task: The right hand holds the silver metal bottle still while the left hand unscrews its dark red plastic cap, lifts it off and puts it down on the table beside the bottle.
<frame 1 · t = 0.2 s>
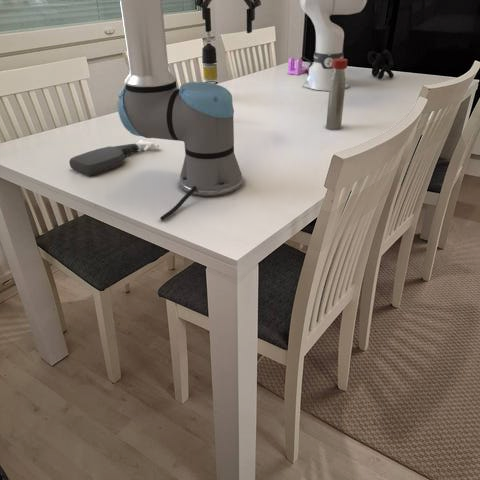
left hand: (228, 32, 139), 28 cm above the table, tool pointing down, fingers open, 13 cm apart
cup: (146, 114, 162), on the table
cap: (339, 60, 135), point 21 cm above the table, screwed on, not yet turned
bracket: (299, 72, 219), on the table
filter: (211, 98, 179), on the table
spray bottle: (117, 159, 125), on the table
bottle: (333, 127, 146), on the table
squiggle: (381, 77, 206), on the table
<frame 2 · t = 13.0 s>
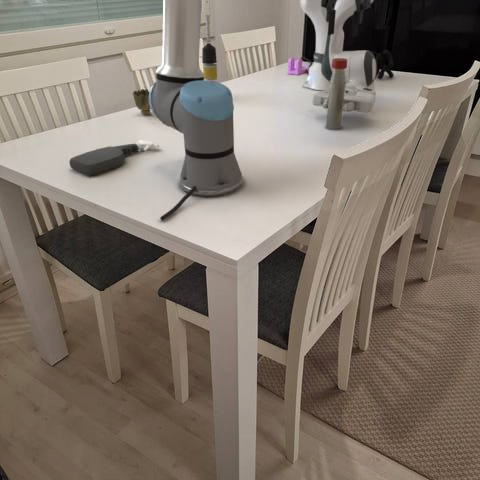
left hand: (342, 35, 131), 28 cm above the table, tool pointing down, fingers open, 7 cm apart
right hand: (334, 107, 141), 7 cm above the table, tool horizontal, fingers closed on bottle, 5 cm apart
bottle: (333, 127, 146), on the table, touching right hand
everything else where it was.
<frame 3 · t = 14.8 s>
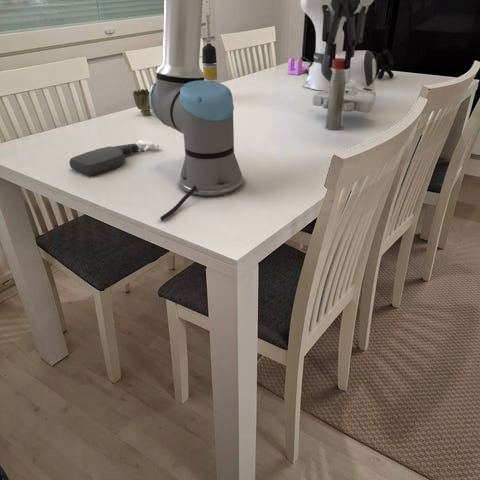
left hand: (339, 67, 136), 19 cm above the table, tool pointing down, fingers closed on cap, 4 cm apart
right hand: (334, 107, 141), 7 cm above the table, tool horizontal, fingers closed on bottle, 5 cm apart
cap: (339, 60, 135), point 21 cm above the table, screwed on, not yet turned, touching left hand
bottle: (333, 127, 146), on the table, touching right hand
everything else where it was.
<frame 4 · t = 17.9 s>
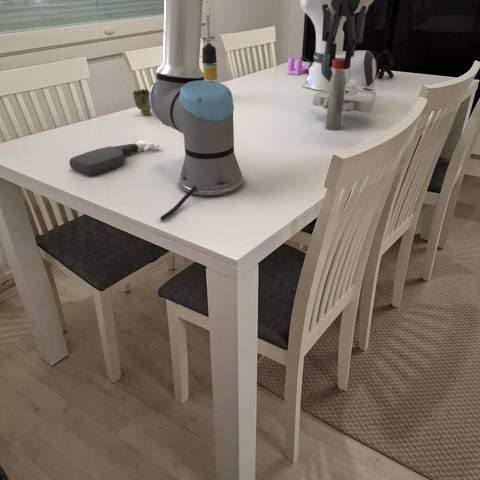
left hand: (339, 67, 136), 19 cm above the table, tool pointing down, fingers closed on cap, 4 cm apart
right hand: (334, 107, 141), 7 cm above the table, tool horizontal, fingers closed on bottle, 5 cm apart
cap: (339, 60, 135), point 21 cm above the table, turned 87° so far, risen 0.1 cm, still on its thread, touching left hand
bottle: (333, 127, 146), on the table, touching right hand
everything else where it was.
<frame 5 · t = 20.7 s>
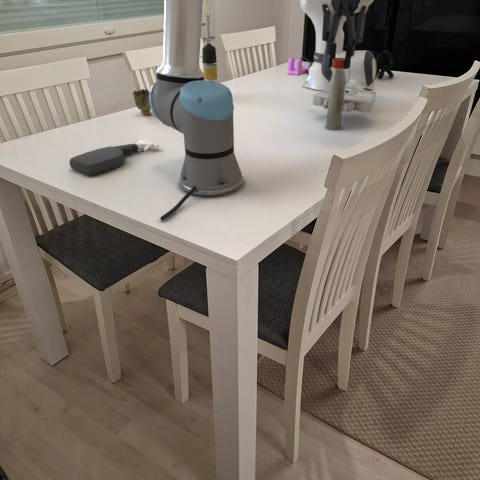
left hand: (339, 67, 136), 19 cm above the table, tool pointing down, fingers closed on cap, 4 cm apart
right hand: (334, 107, 141), 7 cm above the table, tool horizontal, fingers closed on bottle, 5 cm apart
cap: (339, 60, 135), point 21 cm above the table, turned 173° so far, risen 0.2 cm, still on its thread, touching left hand
bottle: (333, 127, 146), on the table, touching right hand
everything else where it was.
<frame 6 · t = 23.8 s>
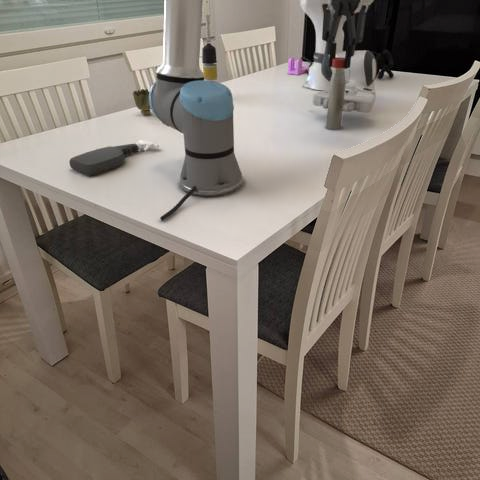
left hand: (339, 66, 136), 19 cm above the table, tool pointing down, fingers closed on cap, 4 cm apart
right hand: (334, 107, 141), 7 cm above the table, tool horizontal, fingers closed on bottle, 5 cm apart
cap: (339, 59, 135), point 21 cm above the table, turned 260° so far, risen 0.3 cm, still on its thread, touching left hand
bottle: (333, 127, 146), on the table, touching right hand
everything else where it was.
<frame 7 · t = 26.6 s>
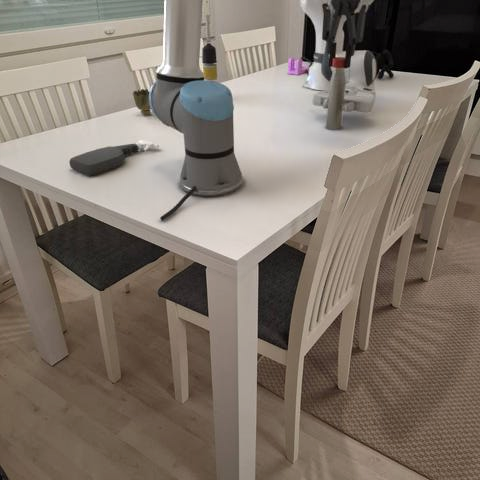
left hand: (339, 66, 136), 19 cm above the table, tool pointing down, fingers closed on cap, 4 cm apart
right hand: (334, 107, 141), 7 cm above the table, tool horizontal, fingers closed on bottle, 5 cm apart
cap: (339, 59, 135), point 21 cm above the table, turned 346° so far, risen 0.3 cm, still on its thread, touching left hand
bottle: (333, 127, 146), on the table, touching right hand
everything else where it was.
when the left hand's fingers open (2 cm above the table, at t = 36.7 s): cap drops 2 cm, point 2 cm above the table.
when the right hand's fingers open (7 cm above the table, at t = 38.0 s): bottle stays where it is, on the table.
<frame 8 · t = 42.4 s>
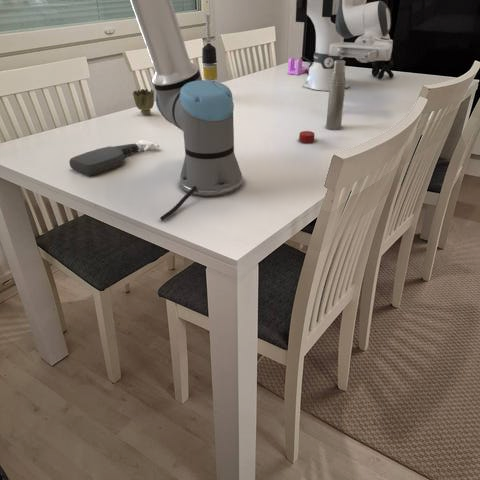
left hand: (314, 19, 118), 33 cm above the table, tool pointing down, fingers open, 13 cm apart
right hand: (352, 54, 143), 21 cm above the table, tool horizontal, fingers open, 8 cm apart
cap: (307, 134, 134), point 2 cm above the table, off its thread
bottle: (333, 127, 146), on the table
everything else where it was.
at the end: cap came off its thread; cap point 2.0 cm above the table; the left hand is holding nothing; the right hand is holding nothing; bottle tilted 0°; bottle moved 0.0 cm from its start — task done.
